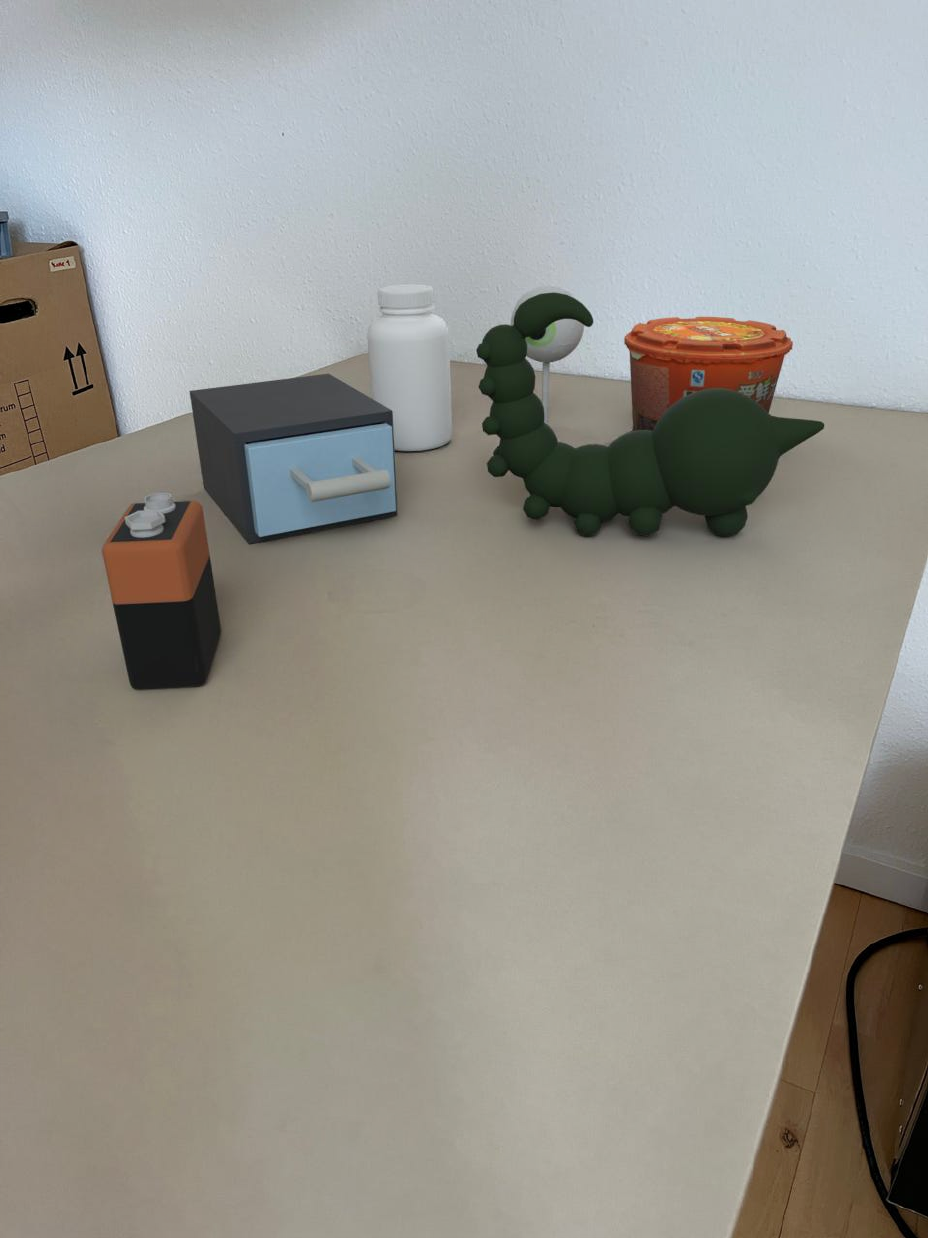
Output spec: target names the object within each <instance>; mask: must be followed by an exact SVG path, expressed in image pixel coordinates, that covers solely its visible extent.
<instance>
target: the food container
mask: <svg viewBox="0 0 928 1238" xmlns="http://www.w3.org/2000/svg"><path fill="white" fill-rule="evenodd" d="M623 340H624V343H623V344H624V346H626V348H627V350H628V351H629V371H630V389H631V390H630V392H631V394H630V395H631V409H632V410H631V414H632V431H636V430H651V431H653V429H654V427H655V425H656V423H657V422H658V420H659V419H660V417H661V416H662V415H663V414H664V412H665V411H666V410H667V409H668V408H669V407H670V406H672V405H673V404H674V403H675V402H677V401H678V400H679V399H681V398H683V397H685V396H687V395H689V394H692V393H694V392H697V391H701V390H704V389H711V388H723V389H729V390H733V391H737V392H740V393H742V394H744V395H746V396H748V397H750V398H752V399H753V400H755V401H756V402H757V403H759V404H760V405H761V406H762V407H763V408H764V409H765V410H766V411H767V412H768V413H769V414H770V410H771V407H772V404H773V403H772V402H773V399H774V395H775V392H776V388H777V386H778V385H777V384H778V382H779V377H780V374H781V371H782V367H783V363H784V359H785V356H786V355H788V354H789V353H790V352H791V350H793V345H794V342H793V341H792V338H791V337H788V336H787V332H786V331H785V330H784V329H777V327H776V325H774V324H771V323H766V322H761V321H757V320H745V321H744V320H743V321H742V320H736V319H735V318H733V317H722V316H721V317H719V316H696V317H695V318H680V317H677V316H675V317H663V318H655V319H650V320H647V322H646V323H642V322H638V323H637V324H635V325H633V327H632V328H631V331H629V332H628V333H626V335H625V336H624V338H623ZM788 356H790V355H788Z"/></svg>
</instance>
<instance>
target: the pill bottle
mask: <svg viewBox="0 0 928 1238" xmlns="http://www.w3.org/2000/svg"><path fill="white" fill-rule="evenodd" d="M377 302H378V306H380V307H378V310H379V312H380V313H382V315H380V316H378V317H377V318H375V319H374V320H373V321H372V322H371V323H369V326H368V329H367V333H366V335H367V351H368V362H369V363H368V365H369V378H370V379H369V380H370V392H371V393H370V395H371V398H372V399H373V400H375V401H377V402H378V403H380V404H382V405H384V406H385V407H387V408H389V409H390V410H392V411H393V420H392V421H393V433H394V451H397V452H421V451H422V452H423V451H428V450H433V449H437V448H440V447H443V446H445V445H447V444H448V443H449V442H450V441H451V439H452V433H453V432H452V431H453V420H452V418H453V417H452V390H451V389H452V388H451V358H450V357H451V354H450V331H449V328H448V324H447V323H446V321H445V320H444V319H443V318H442V317H440V316H438V315H437V314H433V313H432V311H434V310H435V305H434V303H435V295H434V288H433V286H431V285H428V284H419V283H418V284H416V283H415V284H412V283H409V284H393V285H387V286H383V287H380V288H378V290H377Z"/></svg>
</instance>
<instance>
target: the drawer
mask: <svg viewBox="0 0 928 1238" xmlns="http://www.w3.org/2000/svg"><path fill="white" fill-rule="evenodd" d="M244 447H245V455H246V463H247V471H248V479H249V487H250V495H251V503H252V511H253V519H254V527H255V532H256V534H257V535H258V536H259V537H263V536H268V535H273V534H279V533H284V532H289V531H294V530H299V529H305V528H310V527H315V526H320V525H326V524H331V523H336V522H341V521H346V520H352V519H357V518H362V517H367V516H372V515H378V514H383V513H388V512H393V511H396V498H395V478H394V458H393V438H392V427H391V426H390V425H388V424H386V423H385V424H378V425H372V424H366V425H359V426H353V427H346V428H339V429H333V430H326V431H319V432H312V433H306V434H299V435H292V436H286V437H279V438H272V439H266V440H259V441H252V442H246V444H245V445H244Z"/></svg>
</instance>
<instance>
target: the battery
mask: <svg viewBox="0 0 928 1238" xmlns="http://www.w3.org/2000/svg"><path fill="white" fill-rule="evenodd" d="M143 500H144V502H136V503H131V505H129V506H128V507H127V509H126V510H125V512H124V513H123V515H122V516H121V518H120V520H118V523H117V524H116V526H115V527H114V529H113V530H112V531H111V533H110V534H109V536H108V538H107V539H106V541H105V542H104V544H103V546H102V547H101V553H102V554H101V555H102V559H103V563H104V569H105V573H106V578H107V583H108V587H109V592H110V596H111V602H112V606H113V610H114V611H113V612H114V616H115V619H116V620H115V621H116V625H117V629H118V630H117V631H118V634H119V639H120V644H121V649H122V654H123V659H124V664H125V668H126V669H125V670H126V672H127V677H128V682H129V685H130V687H131V688H132V689H134V690H151V689H152V690H153V689H154V690H156V689H171V688H172V689H175V688H191V687H193V688H194V687H201V686H203V685H204V684H205V683H206V682H207V679H208V675H209V672H210V670H211V666H212V663H213V660H214V656H215V654H216V650H217V647H218V644H219V641H220V637H221V634H222V628H221V627H222V626H221V621H220V614H219V606H218V600H217V593H216V587H215V581H214V573H213V568H212V562H211V553H210V547H209V541H208V534H207V528H206V521H205V516H204V508H203V506H202V504H201V503H200V502H199V501H197V500H185V501H173V495H172V494H171V493H168V492H155V493H151V494H148V495H146V496H144V499H143Z"/></svg>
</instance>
